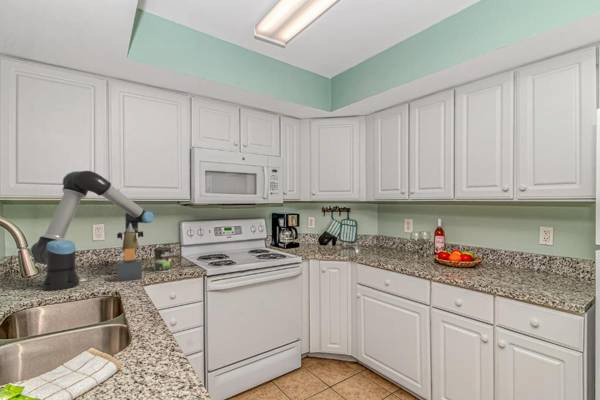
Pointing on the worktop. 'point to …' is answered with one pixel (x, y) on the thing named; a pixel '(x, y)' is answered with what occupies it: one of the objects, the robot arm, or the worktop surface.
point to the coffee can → (162, 259)
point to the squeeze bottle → (130, 239)
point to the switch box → (129, 270)
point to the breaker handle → (129, 255)
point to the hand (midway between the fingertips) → (130, 236)
